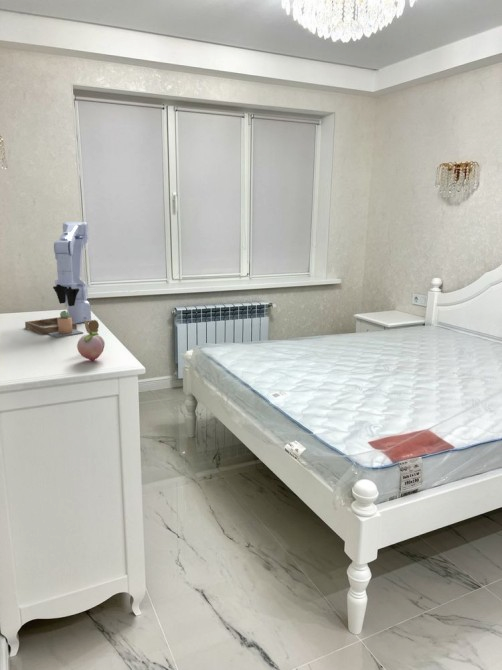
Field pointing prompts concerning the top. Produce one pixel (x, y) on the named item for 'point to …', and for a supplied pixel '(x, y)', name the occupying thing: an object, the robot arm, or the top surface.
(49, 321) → the frame
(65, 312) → the terracotta pot
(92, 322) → the snail figurine
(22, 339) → the top surface
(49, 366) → the top surface
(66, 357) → the top surface
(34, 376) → the top surface
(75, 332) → the mat
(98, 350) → the decorative fruit
